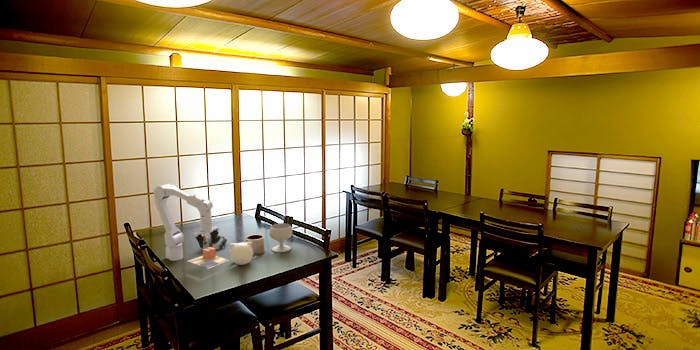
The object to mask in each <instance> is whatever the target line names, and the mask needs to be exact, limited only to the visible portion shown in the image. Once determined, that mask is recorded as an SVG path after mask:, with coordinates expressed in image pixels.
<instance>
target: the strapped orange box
mask: <svg viewBox="0 0 700 350" xmlns="http://www.w3.org/2000/svg"><path fill="white" fill-rule="evenodd" d="M201 249H202V256H203V258H205V259H208V260H209V259H211V258H214V257H216V256H217V254H216V252H217V251H216V250H215V248H212V247H208V248H205V247H204V248H201Z"/></svg>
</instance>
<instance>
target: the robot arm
mask: <svg viewBox="0 0 700 350" xmlns="http://www.w3.org/2000/svg"><path fill="white" fill-rule="evenodd" d="M152 194H153V195H154V204H155V207H156V209H157V212H158V214H159V216H160V219H161V221H162V225H163V227H164V230H165V233H164V235H163V237H164V244H165V246H166V247H165V259H167V260H169V261H172V262H175V261H181V260H182V259H183V258H184V252H183V242H184V240H185V234H184V233H183V232H182V231H181V229H180V228H178V227H177V226H176V223H175V221H174V218H173V216H172V214H171V210H170V208H169V206H168V203H167V201H168V199H169V198H170V197H171V196H174V197H177V198H179V199H181V200H183V201H186V203H187V205H190V206H192V207H194V208H195V209H197V210H198V212H199V217H200V219H199V220H200V230H197V231H195V232H194V233H193V236H194V238H195V240H196V241H197V243H198V244H199V245H198V246H199V248H200V249H204V246H203V240H204V237H203V236H202V235H203V234H206V233H210V234H211V241H212V244H215V242H216V238H217V235H219V231H220V228H219V226H213V225H212V209H213V207H214V206H213V202H212V201H211V200H210V199H204V198H201V197H199V196H197V194H188V193H187V192H185V191H184V190H181V189H180V188H178V187H177V186H176V185H174V184H172V183H169V182H168V183H165V184H163V185H158V186H156V187H155V188H154V190H153V192H152Z"/></svg>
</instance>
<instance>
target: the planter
mask: <svg viewBox="0 0 700 350" xmlns="http://www.w3.org/2000/svg"><path fill="white" fill-rule="evenodd" d="M247 242H252V245H251V247H252V250H253V252H254V253H253V255H254V254H258V255H262V254H263V253H264V252H265V236H264V235H263V234H259V233H257V234H255V233H254V234H249V235H247V236H245V243H247Z"/></svg>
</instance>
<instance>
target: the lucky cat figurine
mask: <svg viewBox="0 0 700 350" xmlns="http://www.w3.org/2000/svg"><path fill="white" fill-rule="evenodd" d="M202 236H203V237H204V240H203V248H204V249H205V248H208V247H212V248H215V250H216V252H217V251H222V250H224V249H225V246H226V243H227V241H228V239H227V238H225V236H223V235H222V234H218V235H217V238H216V242H215V244H212V241H211V234H210V233H206V234H203V235H202Z"/></svg>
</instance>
